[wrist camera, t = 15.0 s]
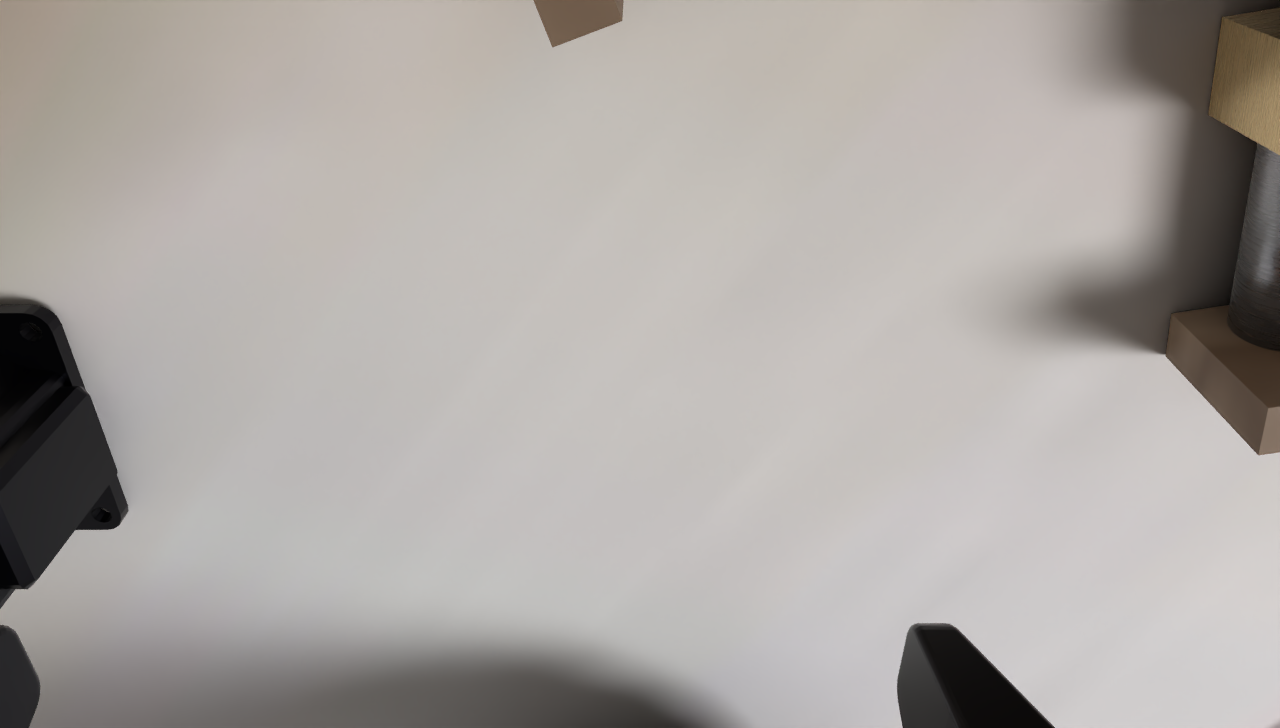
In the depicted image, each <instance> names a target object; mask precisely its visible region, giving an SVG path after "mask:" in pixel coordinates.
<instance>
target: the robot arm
mask: <svg viewBox="0 0 1280 728" xmlns="http://www.w3.org/2000/svg"><path fill="white" fill-rule="evenodd" d="M29 323H33V324H34V325H36V326H38V327H39V328H40V330H41V331H42V333H40V332H37V331H35V330H34V329H32V327H31V326H30V325H29ZM101 508H104V509H106V510H107V511H109V512H106V511H104V510H103V509H101ZM127 512H128V504H127V502H126V499H125V496H124V494H123V491H122V488H121V485H120V483H119V480H118V477H117V468H116V466H115V463H114V460H113V457H112V455H111V452H110V449H109V446H108V444H107V441H106V438H105V435H104V433H103V430H102V427H101V424H100V422H99V419H98V416H97V413H96V411H95V408H94V405H93V402H92V400H91V397H90V395H89V394H88V393H87V391H86V390H85V387H84V384H83V381H82V379H81V376H80V373H79V370H78V368H77V365H76V362H75V360H74V357H73V354H72V351H71V349H70V346H69V343H68V340H67V338H66V335H65V332H64V329H63V327H62V324H61V322H60V321H59V319H58V317H57V316H56V315H55V314H54V313H53V312H51V311H50V310H48V309H46V308H44V307H42V306H37V305H0V608H1V607H2V606H3V605H4V603H5V602H6V601H7V599H8V598H9V597H10V595H11V594H12V593H13V592H14V590H15V589H28V588H30V587H31V586H32V585H33V584H34V583H35V582H36V581H37V580H38V578H39V577H40V576H41V574H42V573H43V572H44V570H45V569H46V568H47V566H48V565H49V564H50V563H51V561H52V560H53V559H54V557H55V556H56V555H57V553H58V552H59V551H60V549H61V548H62V547H63V545H64V544H65V543H66V541H67V540H68V539H69V537H70V536H71V535H72V533H73V532H74V531H75V530H108V529H114V528H116V527H117V526H119V525H120V523H121V522H122V520H123V519H124V517H125V516H126V514H127ZM897 695H898V703H899V709H900V715H901V720H902V726H903V728H1055V727H1054V726H1053V725H1052V724H1051V723H1050V722H1049V721H1048V720H1047V719H1046V718H1045V717H1044V716H1043V715H1042V714H1041V713H1040V712H1039V711H1038V710H1037V709H1036V708H1035V707H1034V706H1033V705H1032V704H1031V703H1030V702H1029V701H1028V700H1027V699H1026V698H1025V697H1024V696H1023V695H1022V694H1021V693H1020V692H1019V691H1018V690H1017V689H1016V688H1015V687H1014V686H1013V685H1012V684H1011V683H1010V682H1009V681H1008V680H1007V678H1006V677H1005V676H1004V675H1003V674H1002V673H1001V672H1000V671H999V670H998V669H997V668H996V667H995V666H994V665H993V664H992V663H991V662H990V661H989V660H988V659H987V658H986V657H985V656H984V655H983V654H982V653H981V652H980V651H979V650H978V649H977V648H976V647H975V646H974V645H973V644H972V643H971V642H970V641H969V640H968V639H967V638H966V637H965V636H964V635H963V634H962V633H961V632H960V631H959V630H958V629H957V628H956V627H954V626H952V625H950V624H946V623H917V624H914V625H912V626H911V627H910V629H909V631H908V633H907V637H906V642H905V646H904V651H903V656H902V660H901V665H900V670H899V674H898V680H897ZM39 696H40V682H39V678H38V675H37V673H36V671H35V669H34V667H33V665H32V663H31V661H30V659H29V657H28V655H27V653H26V651H25V649H24V647H23V645H22V643H21V641H20V639H19V637H18V635H17V633H16V632H15V631H14V630H13V629H12V628H10V627H9V626H4V625H0V728H29V726H30V723H31V720H32V718H33V715H34V713H35V710H36V708H37V705H38V701H39Z"/></svg>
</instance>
